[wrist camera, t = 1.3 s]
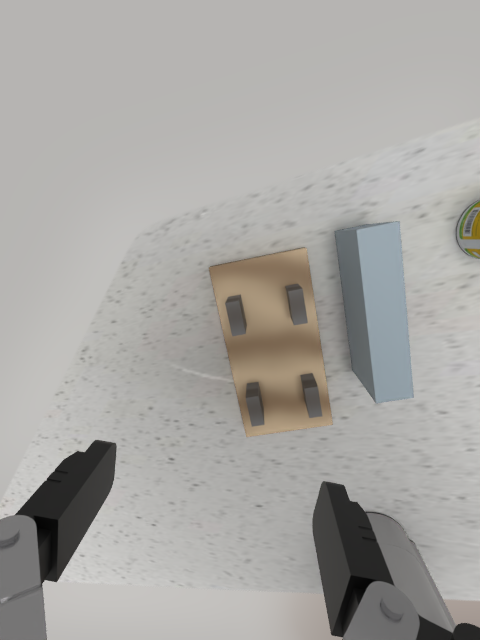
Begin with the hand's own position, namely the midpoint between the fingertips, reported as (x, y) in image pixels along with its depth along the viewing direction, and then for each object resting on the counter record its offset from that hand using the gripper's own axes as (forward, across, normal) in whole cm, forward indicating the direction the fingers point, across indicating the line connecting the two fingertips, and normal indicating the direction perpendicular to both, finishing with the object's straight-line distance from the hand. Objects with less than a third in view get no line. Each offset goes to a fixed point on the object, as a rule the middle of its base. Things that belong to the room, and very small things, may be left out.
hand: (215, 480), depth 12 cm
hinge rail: (+21, -3, +1) cm, 21 cm away
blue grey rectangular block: (+21, -11, -5) cm, 24 cm away
